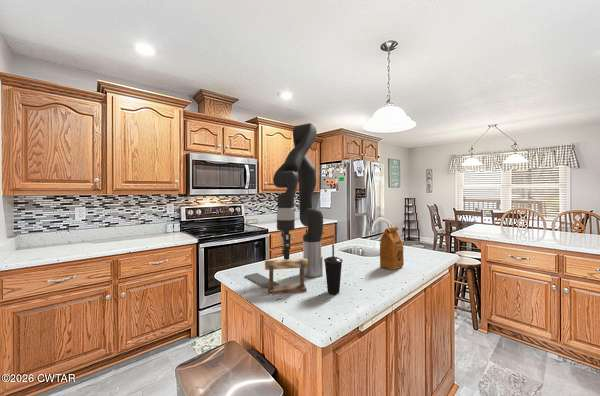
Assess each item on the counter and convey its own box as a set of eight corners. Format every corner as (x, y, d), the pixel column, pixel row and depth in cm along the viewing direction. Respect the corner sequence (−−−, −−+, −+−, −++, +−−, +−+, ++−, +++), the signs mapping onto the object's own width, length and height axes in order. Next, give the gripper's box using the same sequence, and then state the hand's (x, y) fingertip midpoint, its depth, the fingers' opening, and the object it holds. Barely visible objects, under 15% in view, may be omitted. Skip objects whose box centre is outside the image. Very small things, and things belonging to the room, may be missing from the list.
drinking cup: (338, 297, 100) (337, 247, 99) (321, 293, 104) (320, 245, 103) (345, 291, 106) (345, 243, 106) (329, 287, 110) (328, 242, 110)
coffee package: (406, 267, 137) (406, 227, 137) (393, 271, 130) (392, 229, 130) (391, 263, 146) (390, 225, 145) (377, 267, 138) (376, 227, 138)
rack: (304, 287, 111) (304, 260, 111) (306, 292, 105) (306, 263, 105) (267, 289, 109) (267, 262, 108) (268, 295, 103) (267, 265, 103)
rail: (306, 265, 110) (306, 258, 110) (308, 267, 107) (308, 260, 107) (265, 267, 107) (264, 260, 107) (265, 270, 104) (265, 262, 104)
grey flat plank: (244, 276, 126) (244, 275, 126) (256, 273, 130) (256, 272, 130) (265, 288, 110) (265, 287, 110) (278, 284, 115) (278, 283, 115)
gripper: (296, 220, 100) (296, 260, 100) (292, 216, 114) (292, 252, 114) (277, 220, 99) (277, 261, 99) (275, 217, 113) (275, 253, 113)
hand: (285, 256), depth 107 cm, fingers open, 8 cm apart
